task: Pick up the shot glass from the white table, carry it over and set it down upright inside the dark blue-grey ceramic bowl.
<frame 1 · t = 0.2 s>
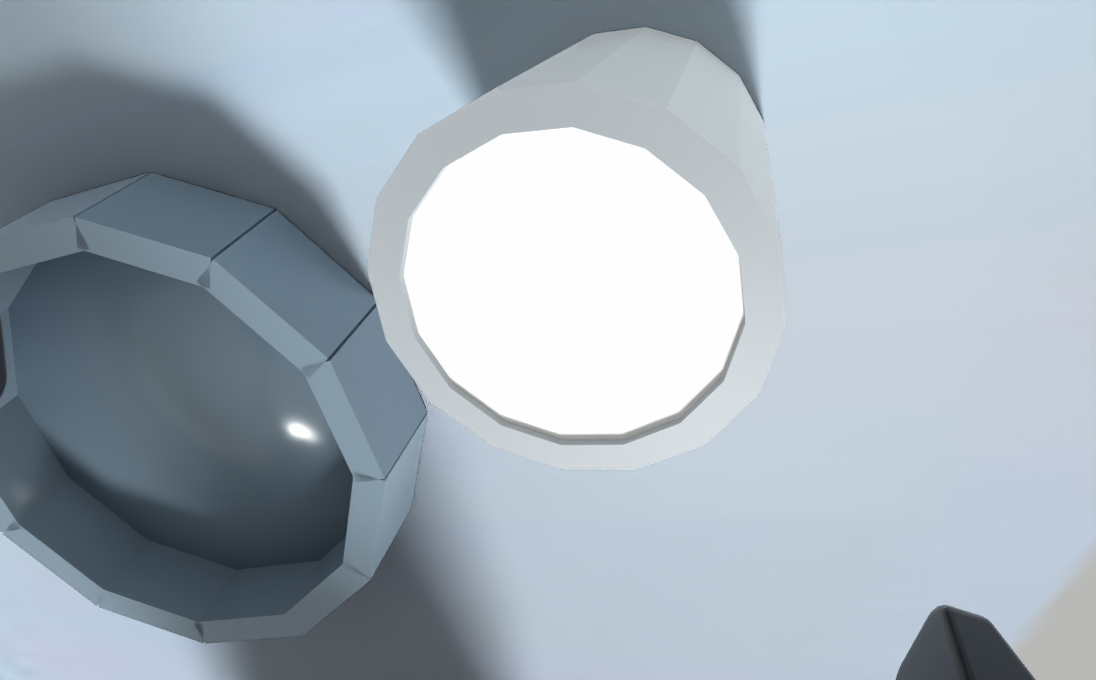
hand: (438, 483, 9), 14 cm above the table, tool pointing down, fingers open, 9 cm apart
bowl: (208, 394, 28), on the table
shot glass: (638, 156, 22), on the table
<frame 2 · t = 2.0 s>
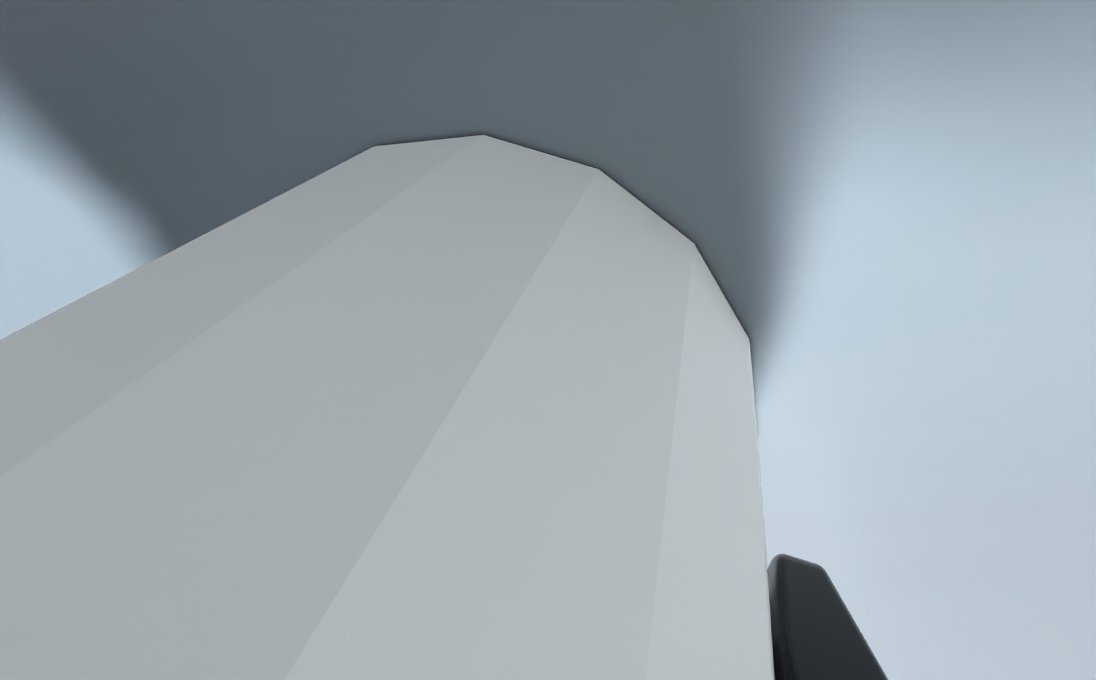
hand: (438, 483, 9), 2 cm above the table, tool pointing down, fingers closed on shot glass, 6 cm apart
shot glass: (491, 387, 11), on the table, touching gripper
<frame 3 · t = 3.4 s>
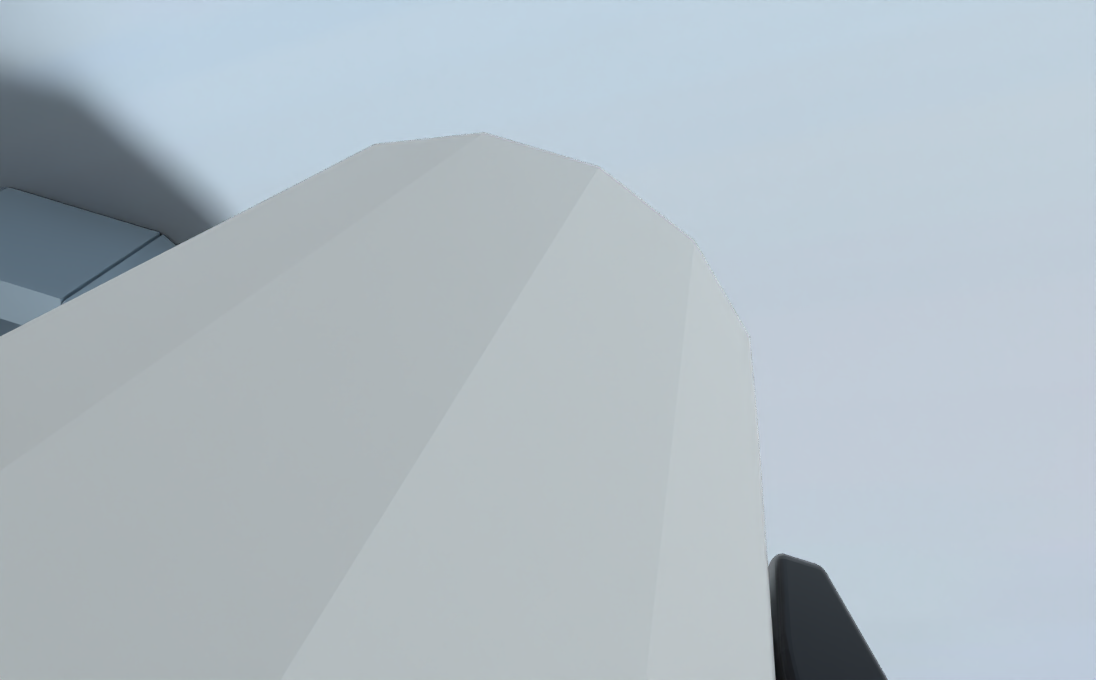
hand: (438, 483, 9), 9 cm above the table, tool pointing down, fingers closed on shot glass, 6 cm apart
bowl: (96, 456, 23), on the table
shot glass: (491, 384, 11), point 7 cm above the table, touching gripper
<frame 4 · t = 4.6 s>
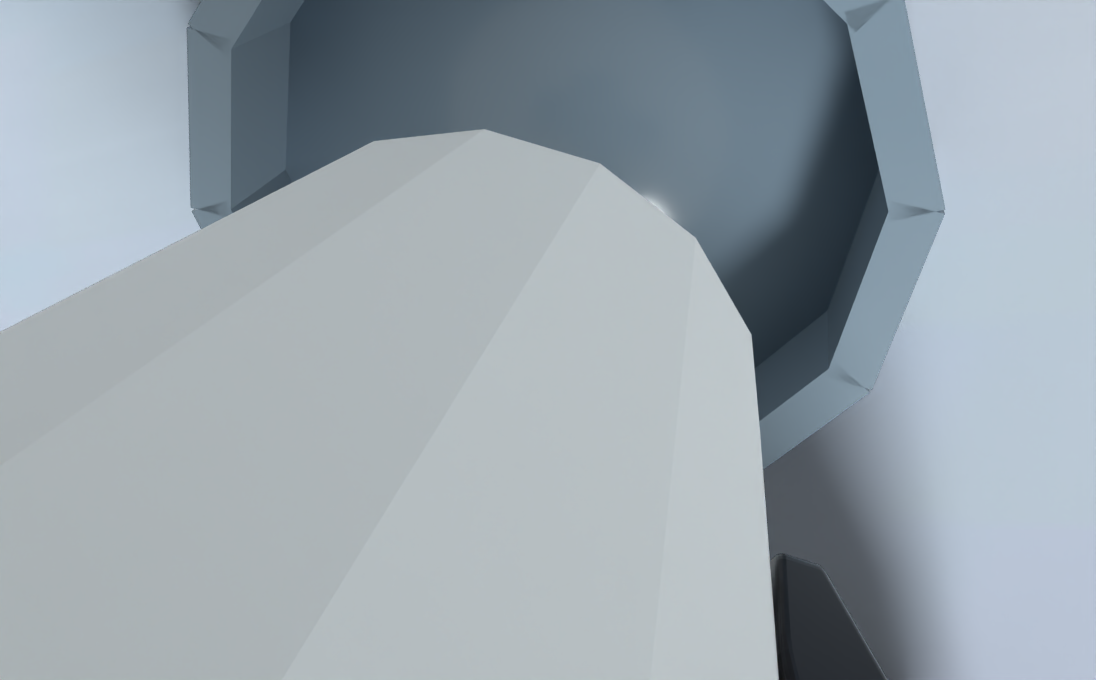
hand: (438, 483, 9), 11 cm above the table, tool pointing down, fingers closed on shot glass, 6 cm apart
bowl: (569, 153, 19), on the table
shot glass: (491, 383, 11), point 10 cm above the table, touching gripper
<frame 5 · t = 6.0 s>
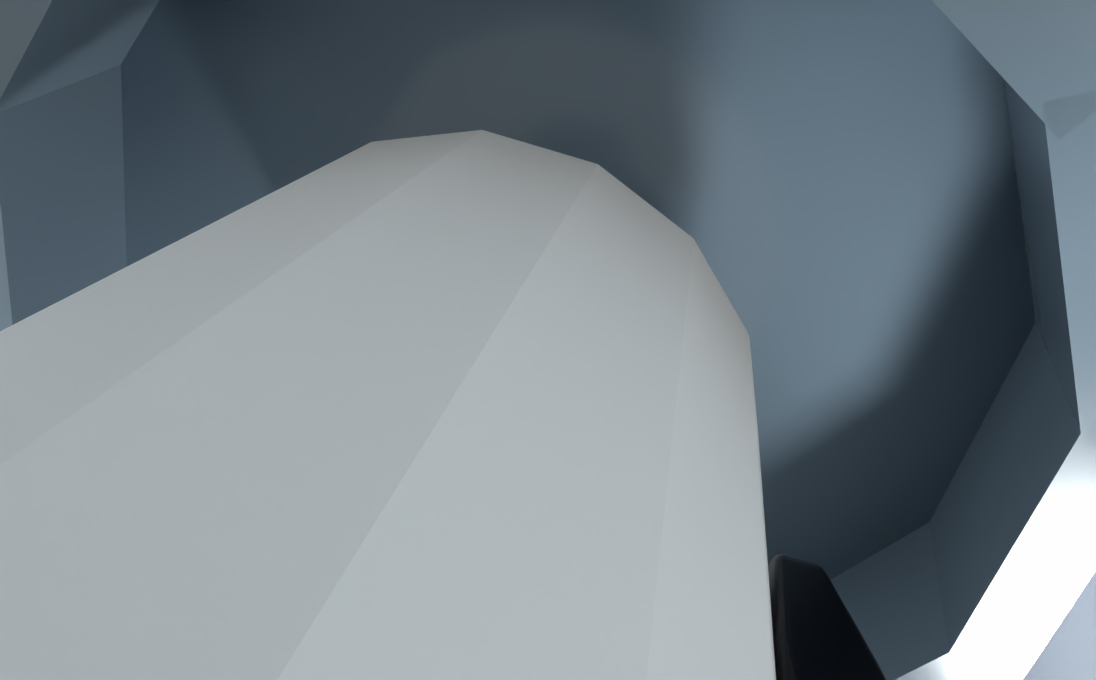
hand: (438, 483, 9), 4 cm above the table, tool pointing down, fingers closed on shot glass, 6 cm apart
bowl: (547, 270, 13), on the table
shot glass: (490, 383, 11), point 3 cm above the table, touching gripper
when the fingers open (4 cm above the table, at t = 7.0 s): shot glass drops 2 cm, resting on bowl.
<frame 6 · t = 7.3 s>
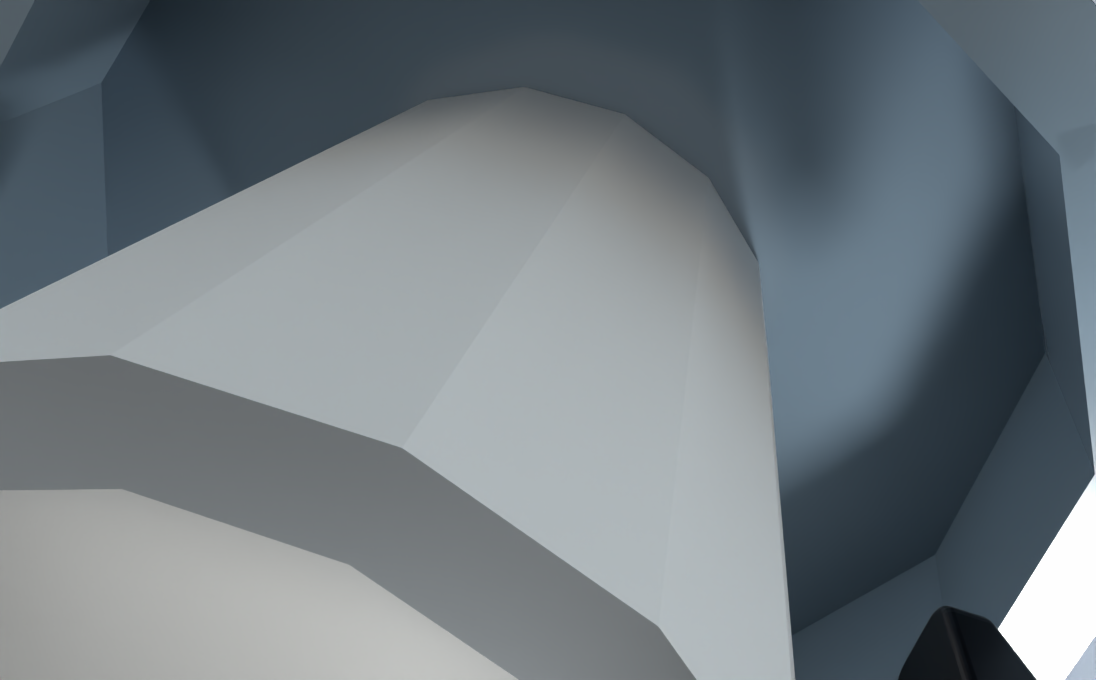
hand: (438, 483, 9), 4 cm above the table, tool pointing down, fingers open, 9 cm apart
bowl: (541, 293, 12), on the table
shot glass: (530, 315, 12), point 1 cm above the table, touching bowl
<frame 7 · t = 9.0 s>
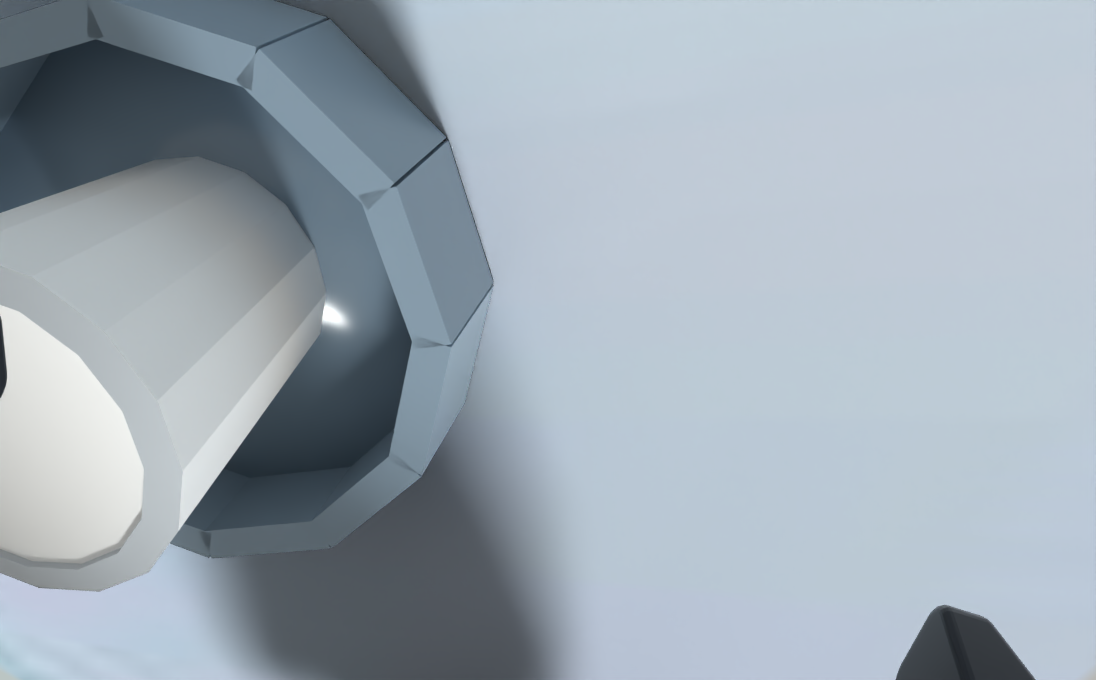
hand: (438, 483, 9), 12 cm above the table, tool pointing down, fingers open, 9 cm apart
bowl: (229, 261, 23), on the table
shot glass: (216, 271, 23), point 1 cm above the table, touching bowl
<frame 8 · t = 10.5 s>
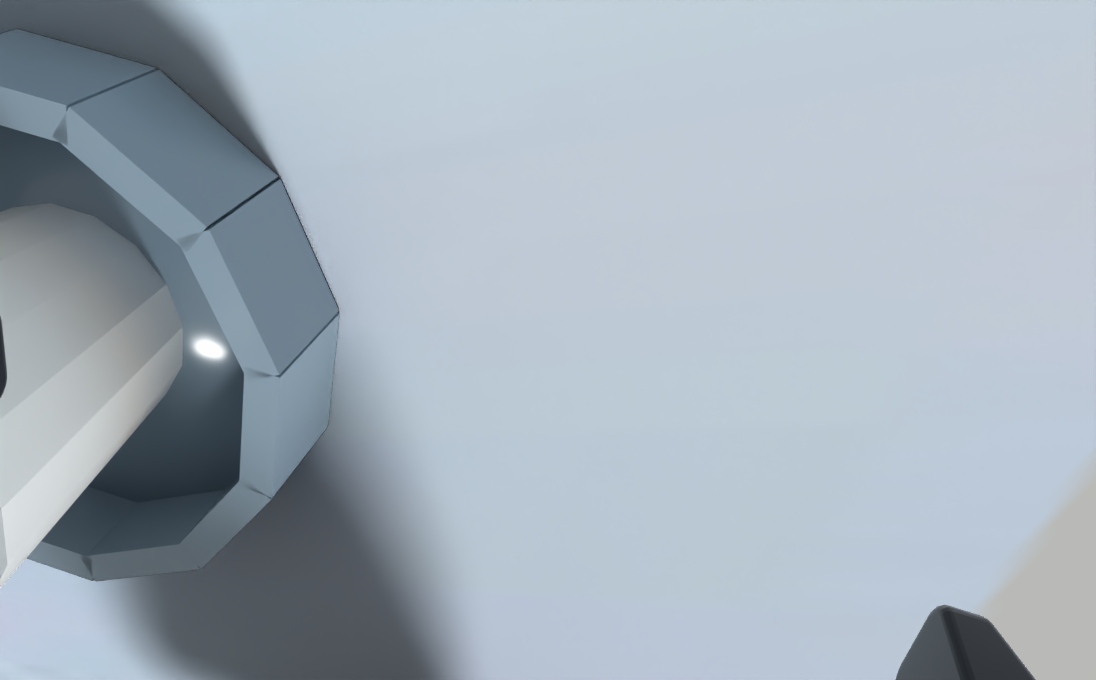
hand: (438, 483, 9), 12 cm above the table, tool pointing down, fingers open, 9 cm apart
bowl: (97, 298, 25), on the table
shot glass: (83, 309, 24), point 1 cm above the table, touching bowl
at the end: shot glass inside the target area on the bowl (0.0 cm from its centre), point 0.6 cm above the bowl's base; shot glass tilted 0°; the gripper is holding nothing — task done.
